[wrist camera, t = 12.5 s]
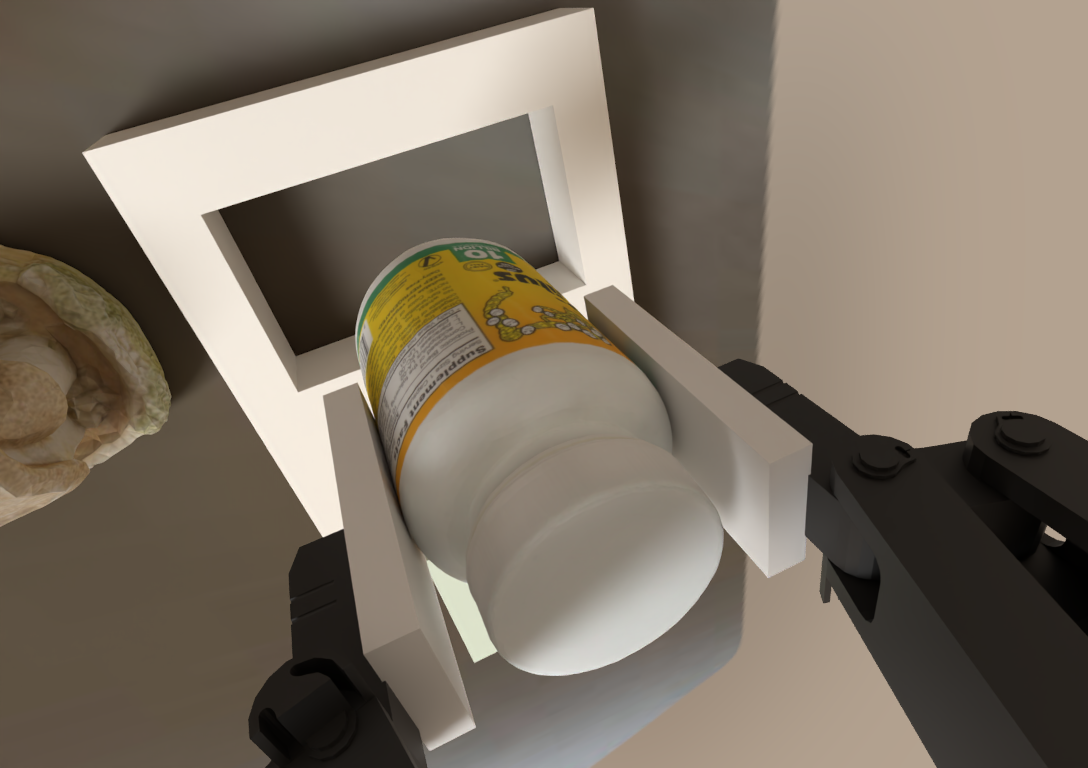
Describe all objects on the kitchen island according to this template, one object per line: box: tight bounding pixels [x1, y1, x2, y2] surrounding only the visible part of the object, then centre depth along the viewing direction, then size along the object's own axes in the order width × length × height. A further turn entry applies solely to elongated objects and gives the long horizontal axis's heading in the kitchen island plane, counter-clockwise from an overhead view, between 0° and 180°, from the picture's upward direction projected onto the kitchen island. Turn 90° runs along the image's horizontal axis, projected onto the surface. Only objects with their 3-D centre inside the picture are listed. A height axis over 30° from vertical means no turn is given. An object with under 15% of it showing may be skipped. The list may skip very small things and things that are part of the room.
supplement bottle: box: [355, 238, 723, 676], centre depth 13 cm, size 5×5×10 cm
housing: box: [82, 8, 634, 537], centre depth 26 cm, size 16×20×3 cm
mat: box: [425, 556, 498, 663], centre depth 37 cm, size 10×10×1 cm
